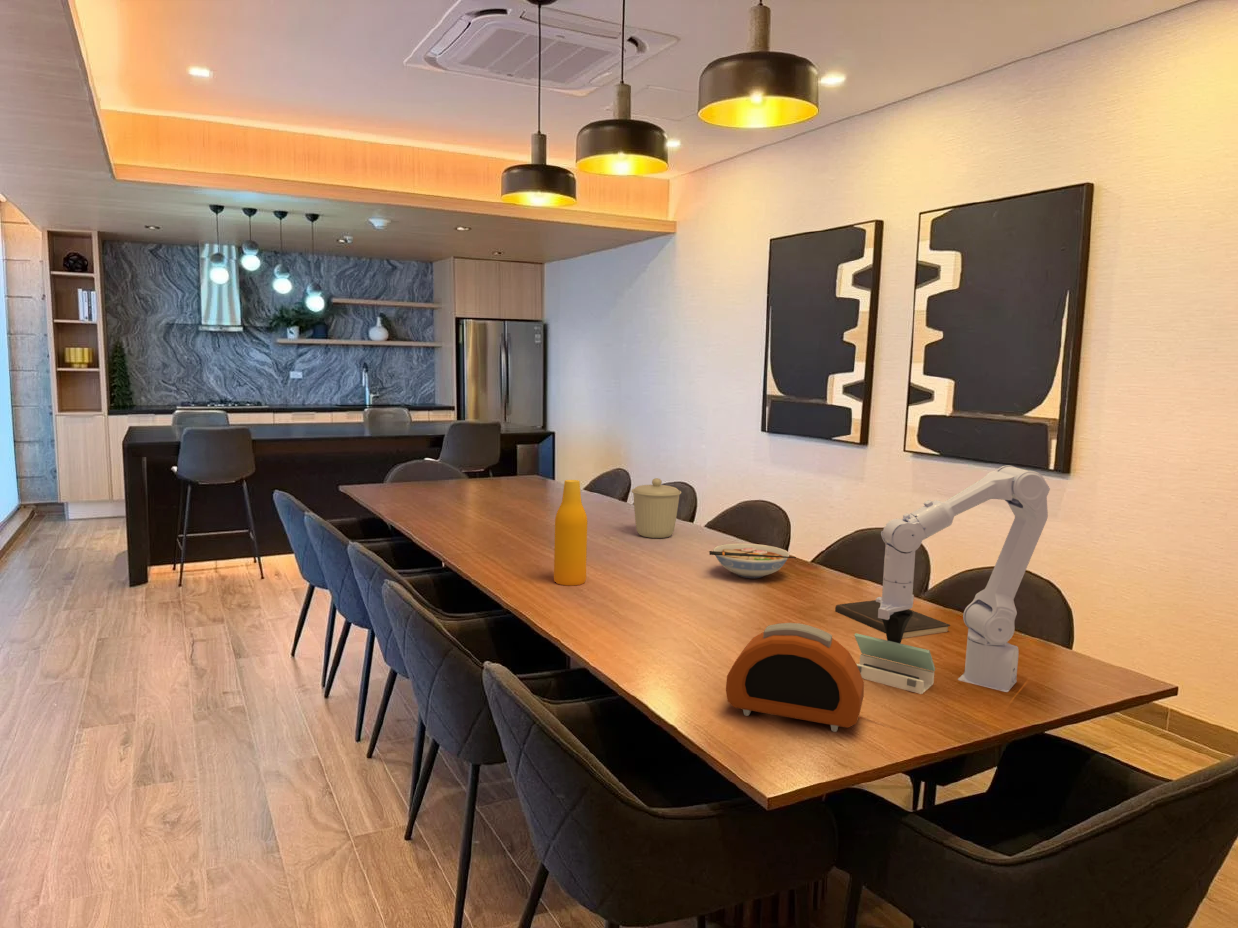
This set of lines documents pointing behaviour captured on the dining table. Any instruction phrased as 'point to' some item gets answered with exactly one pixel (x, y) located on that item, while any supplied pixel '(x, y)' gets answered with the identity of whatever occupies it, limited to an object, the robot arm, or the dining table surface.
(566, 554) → the beer bottle
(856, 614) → the hardcover book
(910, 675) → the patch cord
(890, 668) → the cream piece
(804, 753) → the dining table surface
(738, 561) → the ramen bowl
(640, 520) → the canister
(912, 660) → the panel
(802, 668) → the alarm clock
